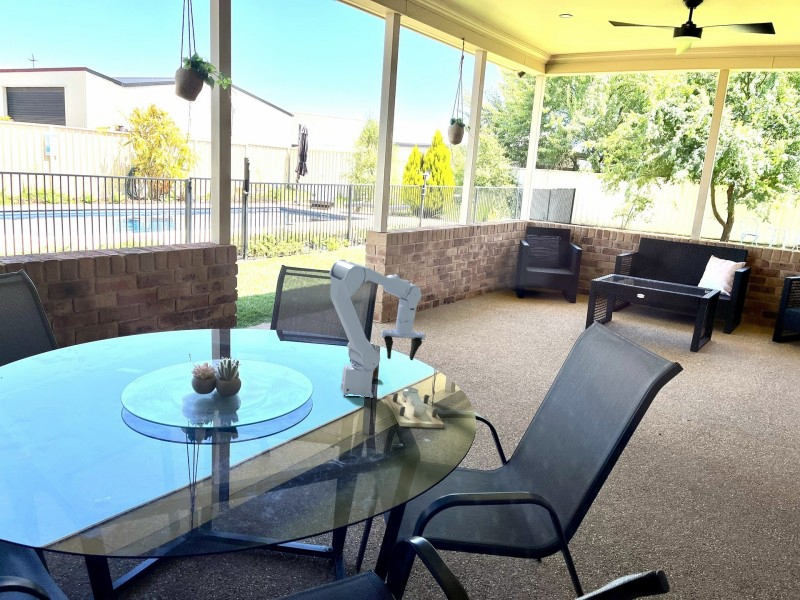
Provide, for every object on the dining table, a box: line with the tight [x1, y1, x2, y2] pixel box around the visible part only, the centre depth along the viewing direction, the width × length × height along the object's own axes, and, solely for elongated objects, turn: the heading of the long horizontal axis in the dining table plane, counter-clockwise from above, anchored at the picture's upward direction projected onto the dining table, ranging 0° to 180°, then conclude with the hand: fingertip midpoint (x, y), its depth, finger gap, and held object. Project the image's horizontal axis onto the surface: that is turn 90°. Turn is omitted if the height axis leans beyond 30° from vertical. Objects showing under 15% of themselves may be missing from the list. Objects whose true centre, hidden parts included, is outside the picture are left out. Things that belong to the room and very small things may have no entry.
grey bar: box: [401, 386, 425, 416], centre depth 178 cm, size 5×14×4 cm, turn 13°
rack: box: [386, 392, 445, 429], centre depth 176 cm, size 13×20×4 cm, turn 13°
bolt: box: [349, 358, 379, 380], centre depth 205 cm, size 6×5×15 cm
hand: (400, 358), depth 192 cm, fingers open, 7 cm apart
